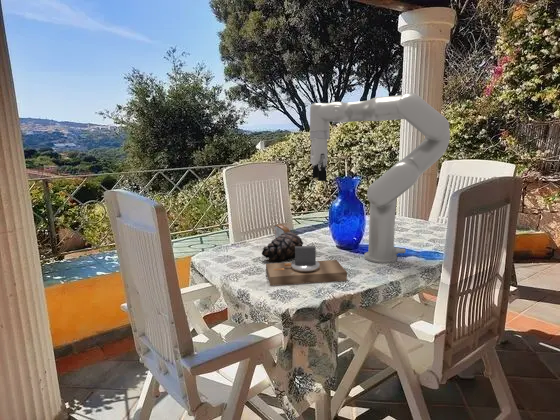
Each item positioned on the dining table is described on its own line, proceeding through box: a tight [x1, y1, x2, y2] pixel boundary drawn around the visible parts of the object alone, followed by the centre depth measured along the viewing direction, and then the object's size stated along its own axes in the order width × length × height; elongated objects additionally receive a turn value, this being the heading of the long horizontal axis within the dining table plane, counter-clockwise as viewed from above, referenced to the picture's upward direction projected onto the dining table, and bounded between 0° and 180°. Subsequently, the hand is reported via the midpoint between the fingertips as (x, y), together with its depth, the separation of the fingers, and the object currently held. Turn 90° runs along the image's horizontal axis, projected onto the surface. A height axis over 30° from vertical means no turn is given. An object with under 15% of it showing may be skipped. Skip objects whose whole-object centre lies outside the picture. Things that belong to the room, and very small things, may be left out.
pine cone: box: [261, 231, 304, 264], centre depth 159 cm, size 10×18×10 cm, turn 139°
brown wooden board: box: [265, 259, 348, 287], centre depth 141 cm, size 26×13×3 cm, turn 98°
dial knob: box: [285, 245, 320, 272], centre depth 140 cm, size 12×10×7 cm
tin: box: [273, 223, 291, 239], centre depth 179 cm, size 15×3×8 cm, turn 22°
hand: (319, 179), depth 161 cm, fingers open, 9 cm apart
